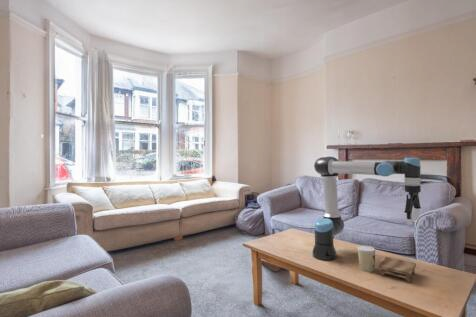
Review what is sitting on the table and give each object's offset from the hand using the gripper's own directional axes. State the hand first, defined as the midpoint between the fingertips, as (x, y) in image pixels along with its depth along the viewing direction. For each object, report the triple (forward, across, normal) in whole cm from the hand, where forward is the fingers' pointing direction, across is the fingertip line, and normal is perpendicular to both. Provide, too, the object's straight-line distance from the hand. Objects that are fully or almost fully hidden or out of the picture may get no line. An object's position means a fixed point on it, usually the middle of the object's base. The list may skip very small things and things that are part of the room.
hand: (413, 222), depth 151 cm
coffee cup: (+27, -17, +19) cm, 37 cm away
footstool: (+27, -13, +4) cm, 30 cm away
